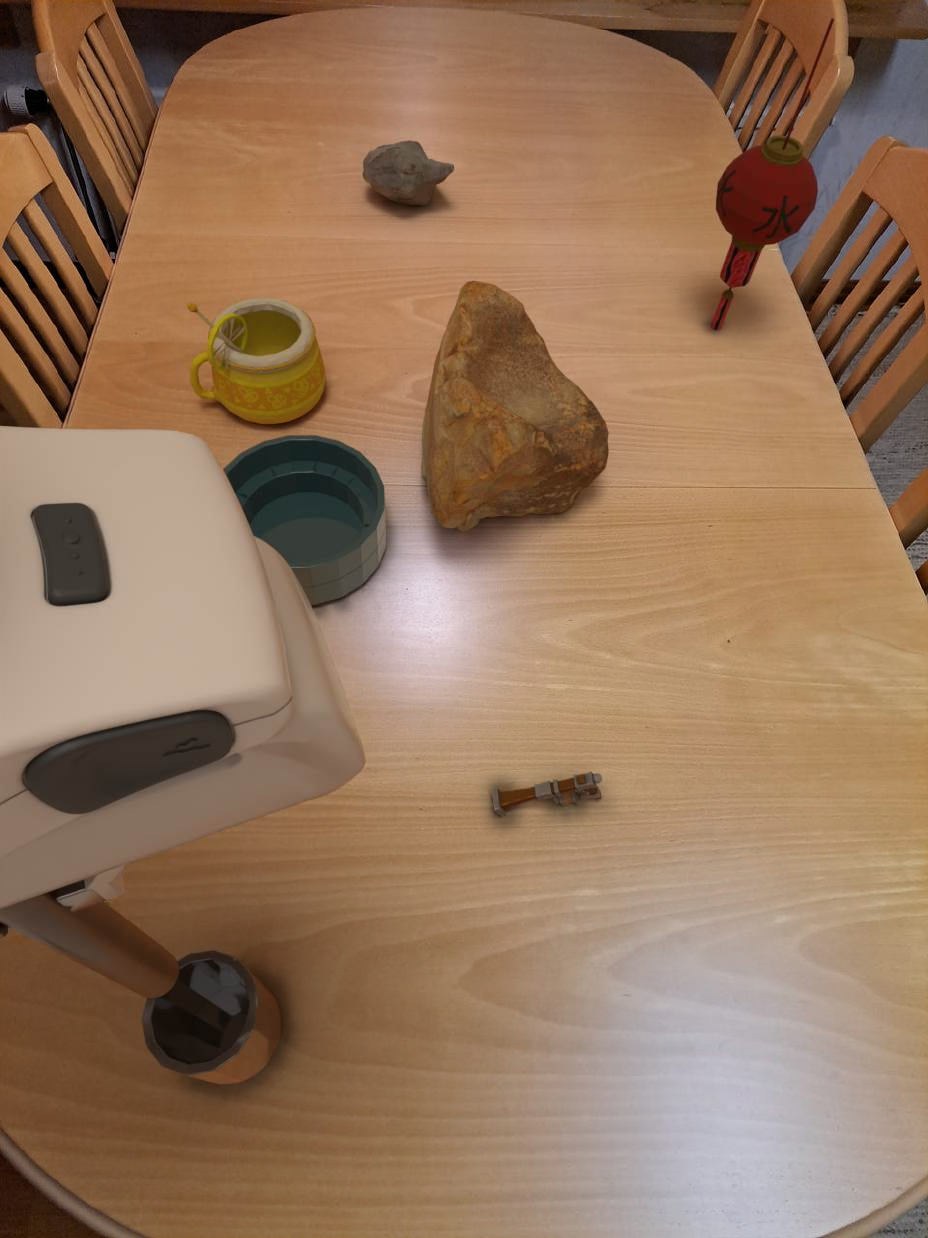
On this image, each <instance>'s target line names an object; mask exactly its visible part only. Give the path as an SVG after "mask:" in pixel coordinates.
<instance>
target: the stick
mask: <svg viewBox="0 0 928 1238" xmlns="http://www.w3.org/2000/svg"><path fill="white" fill-rule="evenodd" d="M0 923H2V924H4V925H6V926H7V927H8V929H9V928H10V929H12V930H13V931H15V932H17V933H19V934H21V935H23V936H25V937H27V938H29V939H31V940H32V941H34V942H37V943H38V944H40V945H42V946H44V947H46V948H48V949H50V950H52V951H54V952H56V953H57V954H60V955H61V956H63V957H66V959H69V960H71V961H73V962H75V963H77V964H79V965H81V966H83V967H85V968H87V969H88V970H91V971H92V972H94V973H96V974H98V975H100V976H102V977H103V978H106V979H108V980H109V981H112V982H114V983H116V984H118V985H120V986H121V987H124V988H126V989H127V990H129V991H131V992H132V993H135V994H137V995H138V996H140V997H142V998H146V999H147V998H157V997H160V996H163V995H164V994H166V993H167V992H168V991H170V990H171V988H172V987H173V986H174V984H175V983H176V981H177V978H178V974H179V965H178V959H177V957H176V956H175V955H174V954H173V953H172V952H170V951H169V950H168V949H167V948H165V947H164V946H163V945H161V943H159V942H158V941H156V940H155V939H154V938H152V937H151V936H150V935H148V934H147V933H146V932H144V930H142V929H140V928H139V926H136V925H135V924H134V923H133V922H131V920H129V919H128V918H126V917H125V916H124V915H122V914H121V913H119V912H118V911H117V910H116V909H115V908H113V907H112V906H111V905H109V904H108V903H106V901H104V902H101V903H98V904H95V905H92V906H89V907H86V908H83V909H80V910H77V911H74V912H73V911H71V910H70V907H69V906H63V905H62V904H60V903H59V902H57V899H56V893H55V890H52V891H49V892H47V893H44V894H41V895H38V896H35V897H32V898H30V899H27V900H24V901H21V902H18V903H15V904H12V905H10V906H7V907H4V908H1V909H0Z"/></svg>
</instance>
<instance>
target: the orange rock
mask: <svg viewBox="0 0 928 1238" xmlns="http://www.w3.org/2000/svg"><path fill="white" fill-rule="evenodd" d="M421 432H422V434H421V435H422V436H421V437H422V438H421V443H422V444H421V445H422V456H421V464H420V466H421V467H420V470H421V471H420V472H421V478H422V480H423V481H424V482H425V484H427V495H428V499H429V507H430V508H429V509H430V512H431V514H433V515H434V517H435V519H436V521H437V522H438V523H439V524H440V525H441V527H442V528H447V529H457V530H458V531H460V532H461V533H464V532H467V531H469V530H471V529H472V528H474V527H476V526H479V524H480V520H481V519H484V518H493V517H502V516H504V517H524V516H528V515H529V514H537V515H540V514H541V515H551V514H561V513H563V512H565V511H566V510H567V509H569V508H571V506H573V504H574V503H575V501H576V500H577V499H578V497H579V495H580V494H581V492H582V491H583V490H585V489H586V488H588V487H589V486H590V485H591V484H592V483H593V482H594V481H595V480H596V479H597V478H598V477H599V476H600V475H601V473H602V472H603V471H604V470H605V469H606V468H607V463H608V459H609V452H610V450H609V430H608V426H607V421H605V419H604V417H603V415H602V414H601V413H600V411H599V410H598V408H597V406H596V405H595V403H594V402H593V400H591V399H590V398H589V397H588V396H587V395H586V393H585V392H584V391H583V390H582V388H581V387H579V385H578V384H576V383H575V382H574V381H572V380H571V379H569V378H568V377H567V376H566V375H565V374H564V373H563V372H562V371H561V369H559V368H558V366H557V365H556V363H555V361H554V360H553V358H552V357H551V355H550V353H549V350H548V348H547V345H546V341H545V339H544V338H543V337H542V336H541V334H540V333H539V332H538V331H537V328H536V326H535V324H534V323H533V320H532V319H531V318H530V316H529V314H528V313H527V311H526V309H525V305H524V304H523V303H522V302H521V301H519V299H517V297H516V296H513V294H511V293H509V292H507V291H505V290H504V289H501V288H500V287H499V286H497V285H495V284H493V283H489V282H484V281H479V280H469V281H467V282H465V284H464V285H462V287H461V288H460V290H459V293H458V295H457V299H456V302H455V306H454V308H453V311H452V313H451V315H450V317H449V319H448V322H447V325H446V328H445V330H444V332H443V335H442V337H441V342H440V345H439V348H438V351H437V354H436V356H435V360H434V364H433V370H432V374H431V380H430V385H429V391H428V396H427V402H426V406H425V409H424V415H423V422H422V431H421Z"/></svg>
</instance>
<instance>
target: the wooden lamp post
mask: <svg viewBox="0 0 928 1238" xmlns="http://www.w3.org/2000/svg"><path fill="white" fill-rule="evenodd" d="M602 781H603V776H602V775H601V774H600V773H593V772H592V771H591V770H590V771H588V772H584V773H580V774H573V777H570V778H565V779H561V780H558V779H557V778H555V779H552V781H550V780H547V781H545V782H544V781H543V782H541V783H534V784H533V786H530V787H525V788H524V787H523V788H515V789H509V790H501V789H500V788H499V787H498V786H491V795H492V801H493V809H494V810H493V811H494V812H495V813H497V814H498V815H499V816H500V817H502V818H503V817H504V816H508V814H507V813H508V812H507V811H508V810H510V809H512V808H514V807H516V806H519V805H522V804H525V803H527V802H530V801H535V800H539V801H543V800H545V799H550V798H552V801H553V802H554V804H557V805H559V804H560V805H561V806H562V807H565V806H566V805H568V804H573V803H574V804H575V805H579V799H582V800H583V799H584V797H585V796H587V797H590V798H591V799H594V800H595V801H597V800H599V799H601V800H602V797H603V796H602V792H601V789H600V788H599V786H598V784H600V783H601V782H602Z"/></svg>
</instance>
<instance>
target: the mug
mask: <svg viewBox="0 0 928 1238" xmlns="http://www.w3.org/2000/svg"><path fill="white" fill-rule="evenodd" d="M186 305H187V306H186V307H187V309H188V311H189V312H191V313H196V315H198V316H199V317H200V318H201V319H202V320H203V321H204V322H205V323H206V324H207V325H208V326H209V329H208V332H207V334H208V335H207V346H206V351H203V352H201V353H200V354H197V356H196V357H194V359H193V360H192V362H191V364H190V366H189V377H190V378H189V379H190V380H189V381H190V385H191V387H192V388H193V391H194V394H195V395H197V396H198V397H199V398H201V399H204V400H215V401H216V402H218V403H221V404H222V405H223V406H224V408H226V409H227V410H228V411H229V412H230V413H232V414H234V415H236V416H237V417H239V418H241V419H242V420H244V421H247V422H251V423H257V424H260V425H261V424H262V425H276V424H283V423H288V422H291V421H293V420H296V419H298V418H300V417H303V416H304V415H306V414H307V413H309V412H310V411H312V410H313V408H315V406H316V405H317V404H318V403H319V402H320V399H321V397H322V395H323V392H324V391H325V386H326V381H327V379H326V368H325V363H324V360H323V355H322V352H321V349H320V345H319V342H318V339H317V336H316V332H317V331H316V327H315V325H314V322H313V319H312V318H311V316H310V315H309V314H308V313H307V312H305V311H304V310H303V309H301V308H300V307H299V306H297V305H296V304H293V303H290V302H288V300H287V301H286V300H283V299H278V298H272V297H256V298H247V299H243V300H241V301H238V302H237V301H236V302H234V303H233V304H231V305H229V306H227V307H226V308H224V309H223V310H222V311H220V313H219V314H218V315H217V316H216V317H215V318H214V319H213V321H212V322H211V321H210V320H209V319H208V318H207V317H206V316H205V315H204V314H203V313H202V312H201V311H199V310H198V306H197V304H196V303H195V302H191V301H190V302H188V303H187V304H186ZM206 362H209V364H210V366H211V375H212V382H213V386H212V387H211V390H210V391H209V390H206V389H203V387H202V385H201V383H200V378H199V369H200V367H201V366H202V365H203V364H204V363H206Z"/></svg>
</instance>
